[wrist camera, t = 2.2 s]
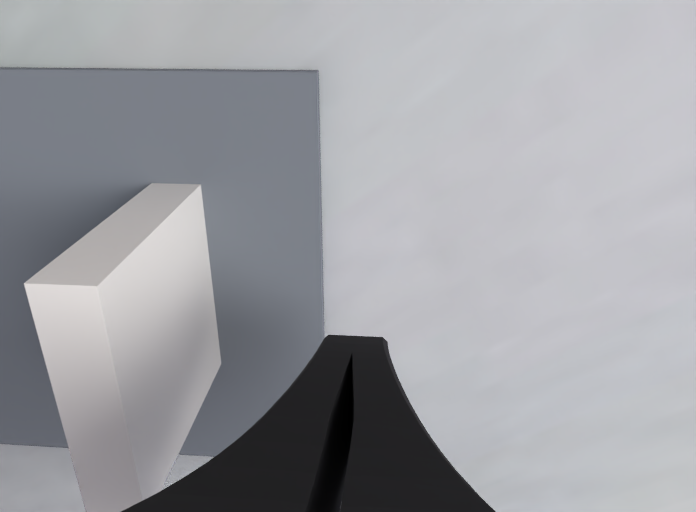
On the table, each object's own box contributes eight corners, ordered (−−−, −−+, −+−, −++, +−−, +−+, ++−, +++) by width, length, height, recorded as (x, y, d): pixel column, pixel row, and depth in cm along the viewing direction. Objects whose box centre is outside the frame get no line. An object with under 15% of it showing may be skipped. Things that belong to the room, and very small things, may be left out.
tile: (221, 363, 18) (146, 520, 13) (174, 361, 18) (80, 516, 13) (200, 184, 16) (97, 286, 10) (146, 183, 16) (15, 283, 10)
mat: (327, 454, 20) (325, 463, 20) (3, 435, 21) (-4, 443, 21) (318, 70, 15) (316, 72, 14) (-120, 66, 15) (-132, 68, 15)
